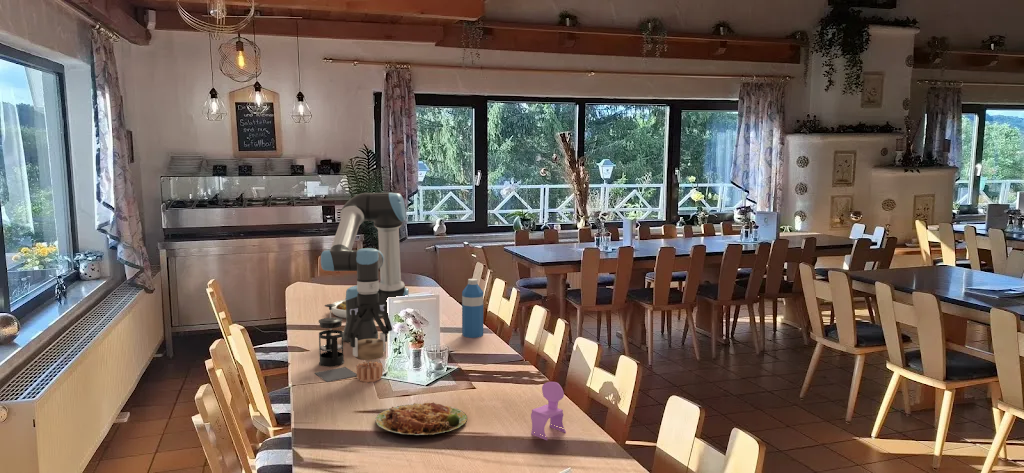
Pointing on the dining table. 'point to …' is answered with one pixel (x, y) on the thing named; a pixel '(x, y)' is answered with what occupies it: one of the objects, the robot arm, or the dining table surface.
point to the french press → (331, 341)
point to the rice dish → (421, 419)
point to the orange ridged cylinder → (369, 371)
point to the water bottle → (472, 310)
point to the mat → (336, 374)
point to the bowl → (340, 309)
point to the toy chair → (548, 410)
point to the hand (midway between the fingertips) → (369, 353)
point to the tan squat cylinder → (370, 349)
